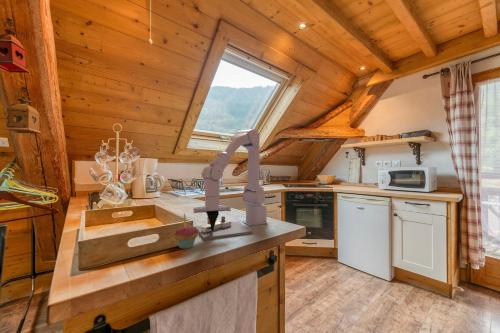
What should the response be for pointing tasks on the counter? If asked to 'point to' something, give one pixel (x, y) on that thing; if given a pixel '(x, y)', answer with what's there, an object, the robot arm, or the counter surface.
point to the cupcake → (186, 235)
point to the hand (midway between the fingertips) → (212, 229)
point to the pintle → (223, 219)
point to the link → (216, 226)
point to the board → (225, 231)
